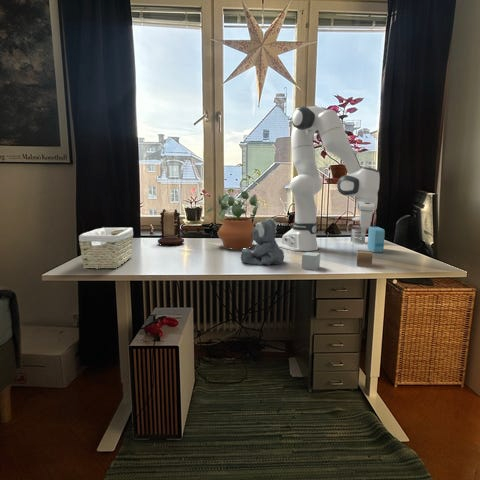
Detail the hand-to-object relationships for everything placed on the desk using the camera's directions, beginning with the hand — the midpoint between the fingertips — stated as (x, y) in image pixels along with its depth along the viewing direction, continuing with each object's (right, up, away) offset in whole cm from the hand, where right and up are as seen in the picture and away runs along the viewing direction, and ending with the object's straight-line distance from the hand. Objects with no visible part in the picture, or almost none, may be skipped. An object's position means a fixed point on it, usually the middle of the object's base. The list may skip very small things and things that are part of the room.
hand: (363, 235), depth 158 cm
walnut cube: (-1, -10, -3) cm, 10 cm away
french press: (+12, -4, +46) cm, 48 cm away
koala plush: (-44, -12, 0) cm, 46 cm away
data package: (+15, -8, +24) cm, 29 cm away
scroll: (-95, -5, +41) cm, 104 cm away
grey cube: (-26, -14, -10) cm, 31 cm away
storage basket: (-114, -13, -3) cm, 114 cm away
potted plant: (-60, -6, +34) cm, 69 cm away
